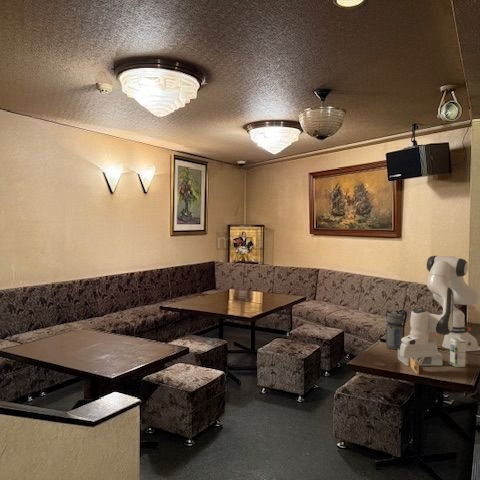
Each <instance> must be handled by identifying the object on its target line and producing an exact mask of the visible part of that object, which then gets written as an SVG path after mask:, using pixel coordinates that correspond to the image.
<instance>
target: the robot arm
mask: <svg viewBox="0 0 480 480" xmlns="http://www.w3.org/2000/svg"><path fill="white" fill-rule="evenodd" d="M467 261H468V260H467ZM467 261H466V259H464V258H458V257H456V256H443V255H439V256H438V255H431V256H430V257H428V259H427V261H426V269H427V271H428V272H429V273H428V276H427V279H426V286H427V288H428V290H429V291H430V293H432V297H433V299H434V301H435V302H437V303H438V304H439V305H440V306H441V308H442V313H441V314H435V313H430V312H428V310H427V309H426V308H423V307H416V308H413V309H412V310H411V313H410V320H409V321H410V322H409V323H410V324H409V325H410V331H409V334H408V335H406V336H404V337H403V338H402V339H401V341H402V342H403V343H402V344H401V346H400V355H401V357H403V358H414V360H415V361H416V362H417V363H418V364H419V367H421V366H420V365H422V362H423V360H424V357H434V356H437V355H438V352H439V351H438V345H437V344H438V342H437V339H435V338H429V332H430V333H437V334H439V335H442V336H444V337H443V341H442V344H441V347H443V349H444V348H445V349H447V350H450V339H451V338H459V339H462V340H464V341H466V350H465V352H475V351H480V346H479V343H478V340H477V338H475V336H473V335H472V334H471V333H469V332H471V327H469V326H468V327H467V326H465V324H466V323H465V317H466V316H465V313H464V312H463V311H462V310H460V309H459V308H457V307H455V305H460V306H461V305H462V306H463V305H464V306H471V305H476V304H477V302H478V301H479V298H480V297H479V293H478V292H477V291H478V290H476V289H474V288H473V287H471V286H470V285H468V283H466V281H465V279H464V276H466V275H467V273H468V271H469V265H468V262H467ZM418 357H419V358H420V360H419V361H418V360H417V359H418Z"/></svg>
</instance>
